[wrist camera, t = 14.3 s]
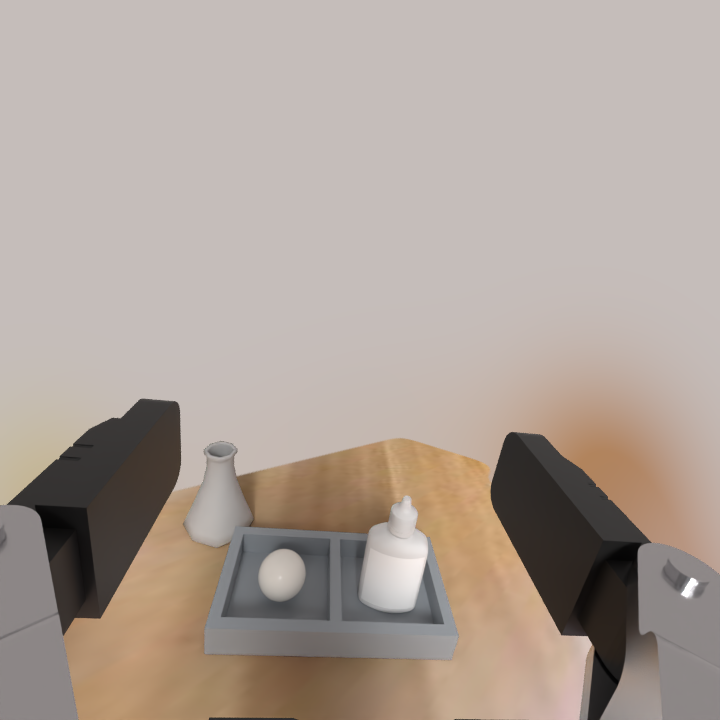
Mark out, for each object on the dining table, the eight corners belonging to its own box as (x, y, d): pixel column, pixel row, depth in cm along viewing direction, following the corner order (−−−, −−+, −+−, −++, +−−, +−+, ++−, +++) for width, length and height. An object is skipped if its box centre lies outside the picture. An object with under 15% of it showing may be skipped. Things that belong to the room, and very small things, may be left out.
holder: (204, 654, 33) (204, 628, 32) (234, 548, 43) (235, 526, 42) (451, 659, 35) (458, 636, 34) (424, 557, 46) (429, 537, 45)
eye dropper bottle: (400, 632, 36) (425, 528, 32) (350, 596, 39) (367, 495, 35) (421, 598, 40) (446, 500, 36) (373, 567, 43) (391, 473, 38)
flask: (221, 493, 51) (223, 424, 47) (264, 520, 48) (269, 448, 44) (170, 527, 45) (168, 450, 41) (216, 559, 42) (217, 479, 38)
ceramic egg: (253, 612, 36) (255, 576, 35) (261, 571, 40) (263, 537, 39) (302, 614, 37) (306, 578, 35) (305, 573, 41) (309, 539, 39)
